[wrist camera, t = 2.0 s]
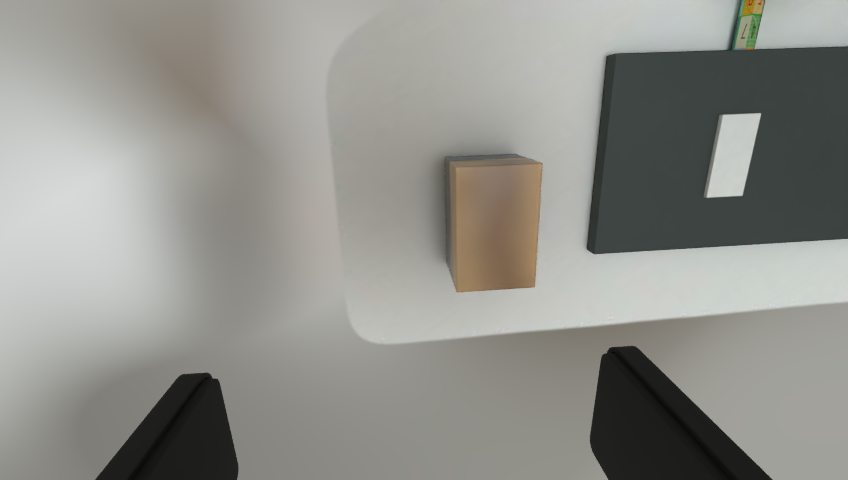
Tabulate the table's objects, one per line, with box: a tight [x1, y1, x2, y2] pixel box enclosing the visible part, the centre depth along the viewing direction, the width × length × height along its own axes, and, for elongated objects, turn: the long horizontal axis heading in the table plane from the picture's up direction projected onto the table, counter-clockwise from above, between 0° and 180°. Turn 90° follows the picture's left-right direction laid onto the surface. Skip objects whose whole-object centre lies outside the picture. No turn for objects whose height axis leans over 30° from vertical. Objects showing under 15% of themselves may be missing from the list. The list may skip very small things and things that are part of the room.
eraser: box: [445, 154, 542, 292], centre depth 23 cm, size 4×7×4 cm, turn 2°
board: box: [587, 47, 848, 254], centre depth 25 cm, size 20×12×1 cm, turn 92°
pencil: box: [731, 0, 765, 50], centre depth 22 cm, size 1×1×18 cm
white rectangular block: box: [703, 113, 761, 198], centre depth 24 cm, size 2×5×1 cm, turn 2°
